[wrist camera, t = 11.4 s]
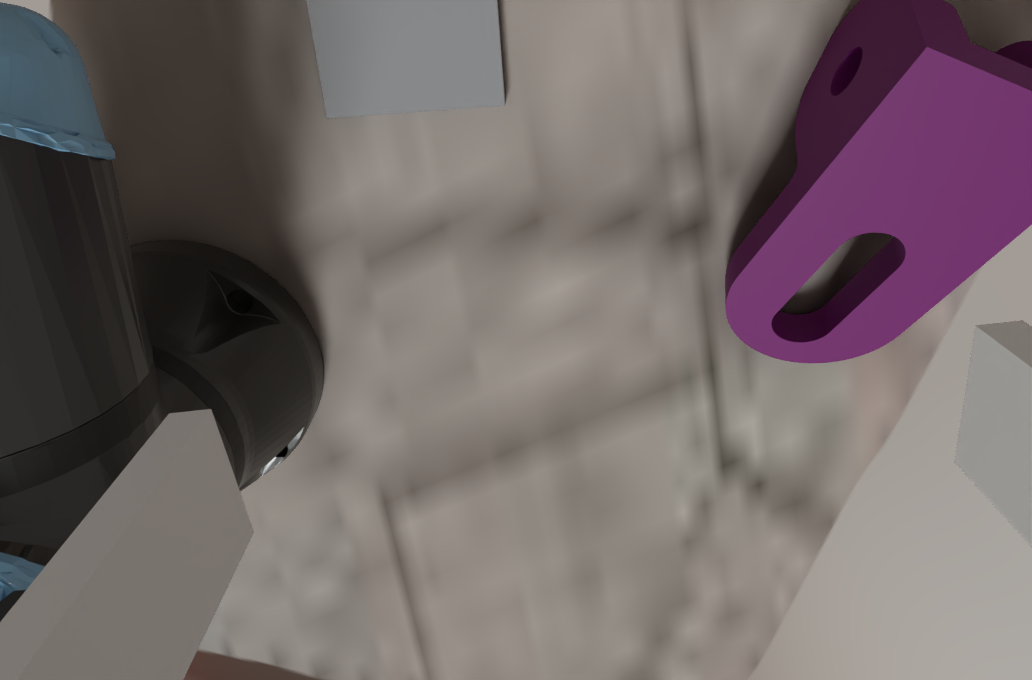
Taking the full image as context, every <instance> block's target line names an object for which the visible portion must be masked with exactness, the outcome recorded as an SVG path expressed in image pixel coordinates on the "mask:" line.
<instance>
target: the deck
mask: <svg viewBox="0 0 1032 680" xmlns="http://www.w3.org/2000/svg"><path fill="white" fill-rule="evenodd" d="M306 2H307V8H308V13H309V19H310V25H311V30H312V36H313V42H314V48H315V53H316V59H317V65H318V70H319V76H320V82H321V88H322V93H323V99H324V105H325V110H326V116H327V118H339V117H353V116H367V115H381V114H395V113H409V112H423V111H437V110H451V109H465V108H479V107H493V106H505V91H504V78H503V64H502V51H501V38H500V24H499V11H498V0H306Z"/></svg>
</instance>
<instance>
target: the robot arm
mask: <svg viewBox="0 0 1032 680" xmlns="http://www.w3.org/2000/svg"><path fill="white" fill-rule="evenodd" d="M112 159H116V158H115V151H114V149H113V146H112V145H111V144H110V143H108V142H107V141H106V140H105V136H104V133H103V130H102V126H101V123H100V120H99V117H98V113H97V110H96V107H95V103H94V100H93V96H92V92H91V89H90V85H89V81H88V78H87V74H86V70H85V67H84V63H83V61H82V58H81V56H80V54H79V52H78V50H77V48H76V46H75V45H74V43H73V42H72V41H71V39H70V38H69V37H68V36H67V34H66V33H65V32H64V31H63V30H62V29H61V28H59V27H58V26H57V25H56V24H55V23H53V22H52V21H50V20H49V19H47V18H46V17H44V16H43V15H41V14H39V13H37V12H34V11H32V10H30V9H27V8H25V7H21V6H17V5H12V4H7V3H0V680H183V679H184V676H185V674H186V672H187V670H188V668H189V666H190V664H191V662H192V660H193V658H194V656H195V654H196V651H197V649H198V647H199V645H200V643H201V641H202V639H203V637H204V635H205V633H206V631H207V629H208V627H209V624H210V622H211V620H212V618H213V616H214V614H215V612H216V610H217V608H218V606H219V604H220V602H221V599H222V597H223V595H224V593H225V591H226V589H227V587H228V585H229V583H230V581H231V579H232V577H233V574H234V572H235V570H236V568H237V566H238V564H239V562H240V560H241V558H242V556H243V554H244V552H245V549H246V547H247V545H248V543H249V541H250V539H251V537H252V535H253V533H254V530H253V528H252V525H251V522H250V519H249V516H248V513H247V510H246V507H245V505H244V502H243V499H242V496H241V493H240V491H242V490H243V489H245V488H246V487H247V486H249V485H250V484H252V483H253V482H255V481H256V480H257V479H258V478H260V476H262V475H264V474H266V473H267V472H269V471H270V470H272V469H273V468H274V467H276V466H277V465H278V464H280V463H281V462H282V461H283V460H284V459H286V458H287V457H288V456H289V455H290V453H291V452H292V451H293V450H294V449H295V448H296V447H297V445H298V444H299V442H300V441H301V440H302V438H303V436H304V435H305V433H306V431H307V429H308V427H309V425H310V423H311V421H312V419H313V417H314V415H315V413H316V411H317V408H318V406H319V403H320V399H321V395H322V390H323V362H322V356H321V351H320V347H319V344H318V341H317V338H316V336H315V333H314V331H313V329H312V327H311V325H310V323H309V321H308V319H307V318H306V316H305V314H304V313H303V311H302V310H301V308H300V307H299V305H298V304H297V303H296V302H295V300H294V299H293V298H292V297H291V296H290V295H289V293H288V292H287V291H286V290H285V289H284V288H283V287H282V286H281V285H280V284H279V283H277V282H276V281H275V280H274V279H273V278H272V277H270V276H269V275H268V274H266V273H265V272H264V271H262V270H261V269H259V268H258V267H256V266H255V265H253V264H251V263H250V262H248V261H246V260H244V259H242V258H240V257H238V256H236V255H234V254H232V253H229V252H227V251H224V250H221V249H218V248H215V247H212V246H208V245H204V244H200V243H194V242H187V241H155V242H148V243H142V244H139V245H135V246H132V247H129V242H128V237H127V233H126V228H125V223H124V218H123V213H122V209H121V204H120V199H119V194H118V190H117V185H116V180H115V175H114V171H113V166H112V161H111V160H112ZM954 462H955V463H956V465H957V466H958V467H959V468H960V469H961V470H962V471H963V472H964V473H965V475H966V476H967V477H968V478H969V479H970V480H971V481H972V482H973V483H974V484H975V485H976V487H977V488H978V489H979V490H980V491H981V492H982V493H983V494H984V495H985V496H986V498H987V499H988V500H989V501H990V502H991V503H992V504H993V505H994V506H995V507H996V508H997V510H998V511H999V512H1000V513H1001V514H1002V515H1003V516H1004V517H1005V518H1006V519H1007V520H1008V522H1009V523H1010V524H1011V525H1012V526H1013V527H1014V528H1015V529H1016V530H1017V531H1018V532H1019V534H1020V535H1021V536H1022V537H1023V538H1024V539H1025V540H1026V541H1027V542H1028V544H1029V545H1030V546H1031V547H1032V326H1030V325H1029V324H1027V323H1026V322H1024V321H1023V320H1021V321H1012V322H1003V323H994V324H985V325H976V326H975V331H974V337H973V344H972V350H971V357H970V363H969V370H968V376H967V383H966V389H965V396H964V402H963V409H962V415H961V422H960V428H959V434H958V441H957V447H956V454H955V460H954Z"/></svg>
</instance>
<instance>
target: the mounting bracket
mask: <svg viewBox="0 0 1032 680" xmlns="http://www.w3.org/2000/svg"><path fill="white" fill-rule="evenodd" d="M795 141H796V149H797V157H798V164H797V168H796V171H795V174H794V176H793V177H792V179H791V181H790V182H789V183H788V185H787V186H786V187H785V188H784V190H783V191H782V192H781V193H780V195H779V196H778V197H777V198H776V200H775V201H774V202H773V204H772V205H771V206H770V207H769V209H768V210H767V211H766V212H765V214H764V215H763V216H762V218H761V219H760V220H759V221H758V223H757V224H756V225H755V226H754V228H753V229H752V230H751V232H750V233H749V234H748V235H747V237H746V238H745V239H744V240H743V242H742V243H741V244H740V245H739V247H738V248H737V249H736V251H735V252H734V254H733V255H732V257H731V259H730V261H729V264H728V267H727V270H726V277H725V293H726V315H727V319H728V322H729V324H730V326H731V328H732V330H733V331H734V333H735V334H736V335H737V336H738V337H739V338H740V339H741V340H742V341H743V342H744V343H745V344H747V345H748V346H750V347H751V348H753V349H755V350H756V351H758V352H760V353H763V354H765V355H767V356H770V357H773V358H777V359H781V360H785V361H791V362H799V363H826V362H835V361H841V360H846V359H850V358H854V357H858V356H861V355H864V354H866V353H869V352H871V351H874V350H876V349H878V348H880V347H882V346H884V345H886V344H887V343H889V342H890V341H892V340H893V339H895V338H896V337H897V336H899V335H900V334H901V333H902V332H904V331H905V330H906V329H907V328H908V327H910V326H911V325H912V324H913V323H914V322H916V321H917V320H918V319H919V318H920V317H922V316H923V315H924V314H925V313H926V312H928V311H929V310H930V309H931V308H932V307H934V306H935V305H936V304H937V303H938V302H940V301H941V300H942V299H943V298H944V297H945V296H947V295H948V294H949V293H950V292H951V291H953V290H954V289H955V288H956V287H957V286H959V285H960V284H961V283H962V282H963V281H965V280H966V279H967V278H968V277H969V276H971V275H972V274H973V273H974V272H975V271H977V270H978V269H979V268H980V267H981V266H983V265H984V264H985V263H986V262H987V261H989V260H990V259H991V258H992V257H993V256H995V255H996V254H997V253H998V252H999V251H1001V250H1002V249H1003V248H1004V247H1005V246H1006V245H1008V244H1009V243H1010V242H1011V241H1012V240H1014V239H1015V238H1016V237H1017V236H1018V235H1020V234H1021V233H1022V232H1023V231H1024V230H1026V229H1027V228H1028V227H1029V226H1030V225H1031V224H1032V41H1021V42H1017V43H1014V44H1011V45H1008V46H1006V47H1004V48H1002V49H1000V50H998V51H997V52H995V53H994V52H992V51H989V50H987V49H985V48H982V47H980V46H978V45H975V44H973V43H971V42H970V41H969V38H968V36H967V34H966V32H965V29H964V27H963V25H962V22H961V20H960V18H959V15H958V13H957V11H956V9H955V8H954V7H953V6H952V5H951V4H949V3H947V2H945V1H943V0H860V1H859V2H858V3H857V4H856V5H855V6H854V7H853V9H852V10H851V11H850V12H849V13H848V14H847V16H846V17H845V18H844V19H843V21H842V22H841V23H840V25H839V26H838V27H837V29H836V30H835V32H834V33H833V35H832V36H831V38H830V40H829V42H828V44H827V46H826V48H825V50H824V52H823V54H822V56H821V58H820V60H819V62H818V64H817V66H816V68H815V70H814V72H813V73H812V75H811V77H810V79H809V81H808V83H807V85H806V87H805V89H804V92H803V95H802V98H801V101H800V105H799V108H798V113H797V118H796V124H795ZM865 233H885V234H889V235H892V236H894V237H893V238H892V239H891V240H890V241H889V242H888V243H887V244H886V245H885V246H884V247H883V248H882V249H881V250H880V251H879V252H878V253H877V254H876V255H875V256H874V257H873V258H872V259H871V260H870V261H869V262H868V263H867V264H866V265H865V266H864V267H863V268H862V269H861V270H860V271H859V272H858V273H857V274H856V275H855V276H854V277H853V278H852V279H851V280H850V281H849V282H848V283H847V284H846V285H845V286H844V287H843V288H842V289H841V290H840V291H839V292H838V293H837V294H836V295H835V296H834V297H833V298H832V299H831V300H830V301H829V302H828V303H827V304H826V305H824V306H823V307H822V308H820V309H819V310H817V311H814V312H811V313H808V314H801V315H794V314H787V313H784V312H781V311H779V310H780V309H781V308H782V307H783V306H784V305H785V304H786V303H787V301H788V300H789V299H790V298H791V297H792V296H793V295H794V294H795V293H796V292H797V291H798V290H799V289H800V288H801V287H802V286H803V284H804V283H805V282H806V281H807V280H808V279H809V278H810V277H811V276H812V275H813V274H814V273H815V272H816V271H817V270H818V269H819V267H820V266H821V265H822V264H823V263H824V262H825V261H826V260H827V259H828V258H829V257H830V256H831V255H832V254H833V253H834V252H835V250H836V249H837V248H838V247H839V246H840V245H841V244H843V243H844V242H845V241H847V240H849V239H850V238H853V237H855V236H858V235H861V234H865Z"/></svg>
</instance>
